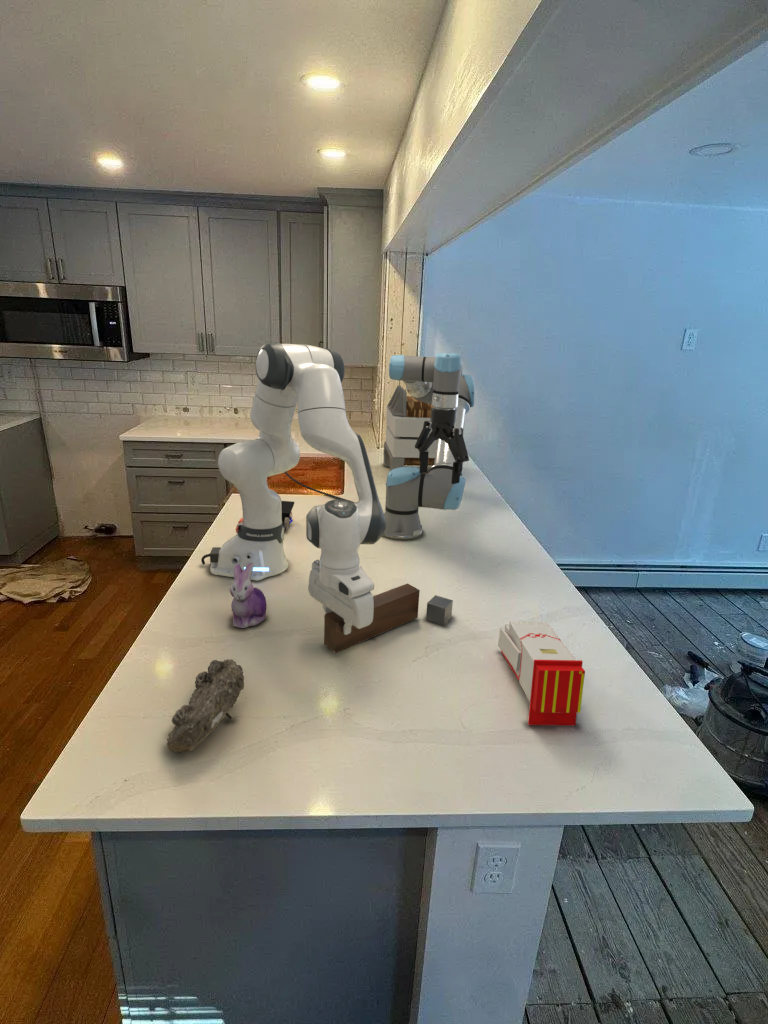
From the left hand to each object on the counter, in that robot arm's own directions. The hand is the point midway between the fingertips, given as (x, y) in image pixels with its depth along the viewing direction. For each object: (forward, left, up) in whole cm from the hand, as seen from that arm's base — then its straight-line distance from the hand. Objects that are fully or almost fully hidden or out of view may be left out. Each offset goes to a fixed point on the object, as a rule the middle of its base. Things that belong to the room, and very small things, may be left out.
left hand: (338, 627), depth 130 cm
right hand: (+25, +53, +21) cm, 63 cm away
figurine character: (-27, +74, -5) cm, 79 cm away
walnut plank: (+8, +7, -5) cm, 12 cm away
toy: (+43, -10, -5) cm, 44 cm away
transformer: (+24, +152, -5) cm, 154 cm away
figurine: (-23, +10, -5) cm, 26 cm away
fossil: (-21, -26, -5) cm, 34 cm away
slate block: (+25, +15, -5) cm, 29 cm away
